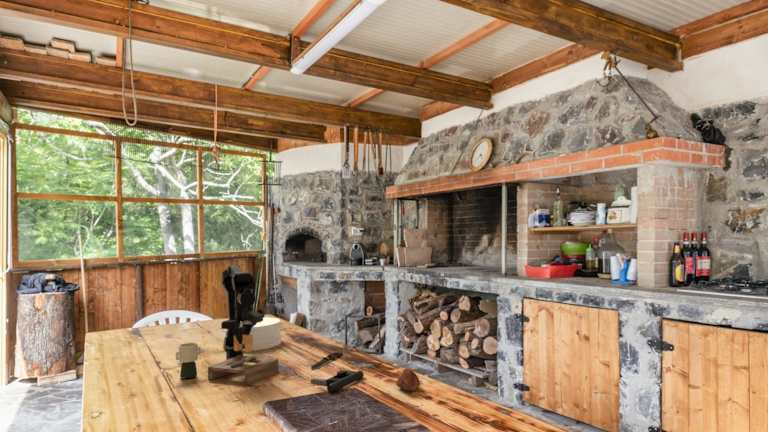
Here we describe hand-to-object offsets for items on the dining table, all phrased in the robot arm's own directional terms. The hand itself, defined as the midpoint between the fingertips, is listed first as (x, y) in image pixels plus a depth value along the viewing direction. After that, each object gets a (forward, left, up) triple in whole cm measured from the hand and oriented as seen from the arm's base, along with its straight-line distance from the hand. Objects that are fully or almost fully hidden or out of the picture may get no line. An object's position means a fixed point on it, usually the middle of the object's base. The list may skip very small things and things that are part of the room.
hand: (243, 342), depth 185 cm
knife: (+22, +27, -14) cm, 38 cm away
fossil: (+68, +4, -13) cm, 69 cm away
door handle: (+40, +3, -14) cm, 42 cm away
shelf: (0, 0, -13) cm, 13 cm away
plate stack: (-32, +46, -13) cm, 58 cm away
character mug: (-20, -9, -13) cm, 25 cm away
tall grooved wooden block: (0, 0, -3) cm, 3 cm away
